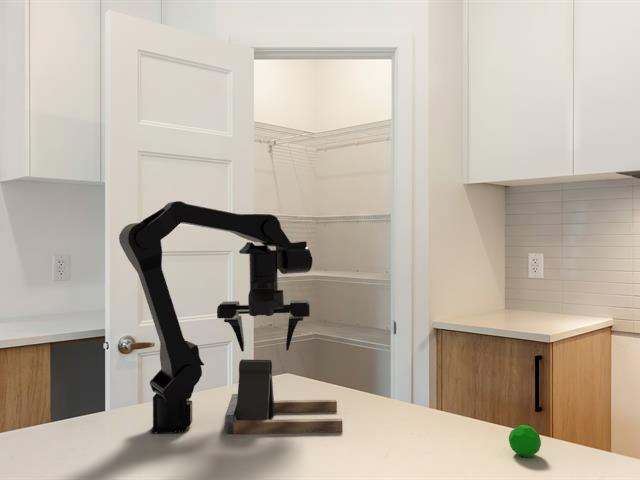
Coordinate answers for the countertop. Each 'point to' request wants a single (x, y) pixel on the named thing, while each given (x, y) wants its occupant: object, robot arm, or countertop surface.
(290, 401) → the guide track
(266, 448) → the countertop surface
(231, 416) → the end stop
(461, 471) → the countertop surface
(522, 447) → the polyhedron
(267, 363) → the phone stand
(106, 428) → the countertop surface
